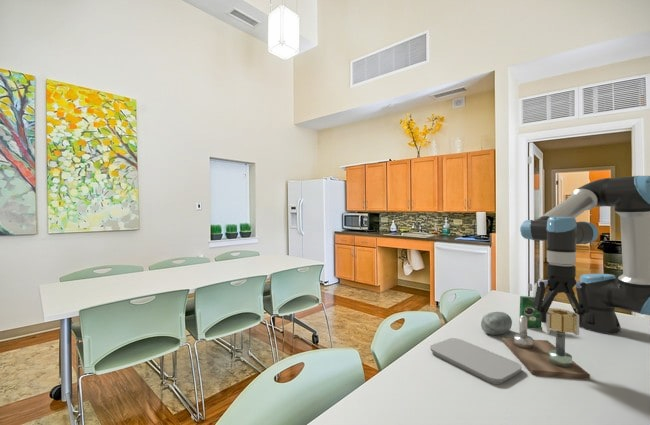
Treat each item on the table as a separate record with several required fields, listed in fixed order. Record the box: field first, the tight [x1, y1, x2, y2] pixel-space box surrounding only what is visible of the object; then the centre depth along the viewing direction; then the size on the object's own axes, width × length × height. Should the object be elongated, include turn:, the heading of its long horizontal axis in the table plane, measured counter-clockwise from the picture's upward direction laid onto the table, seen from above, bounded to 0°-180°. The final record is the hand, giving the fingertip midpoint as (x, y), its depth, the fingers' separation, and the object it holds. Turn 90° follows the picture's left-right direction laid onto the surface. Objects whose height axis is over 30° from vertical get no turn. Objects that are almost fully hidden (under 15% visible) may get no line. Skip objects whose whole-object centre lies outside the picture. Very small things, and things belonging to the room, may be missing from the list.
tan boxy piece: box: [547, 307, 577, 334], centre depth 100 cm, size 8×8×5 cm
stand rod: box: [513, 315, 534, 349], centre depth 113 cm, size 6×6×11 cm
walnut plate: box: [501, 337, 591, 380], centre depth 107 cm, size 16×24×2 cm, turn 170°
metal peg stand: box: [549, 330, 573, 368], centre depth 100 cm, size 6×6×11 cm
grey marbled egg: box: [480, 311, 513, 336], centre depth 129 cm, size 14×10×10 cm
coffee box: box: [518, 295, 542, 329], centre depth 134 cm, size 8×3×13 cm, turn 79°
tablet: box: [429, 337, 523, 385], centre depth 105 cm, size 16×26×2 cm, turn 31°
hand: (560, 332), depth 100 cm, fingers closed on tan boxy piece, 8 cm apart
